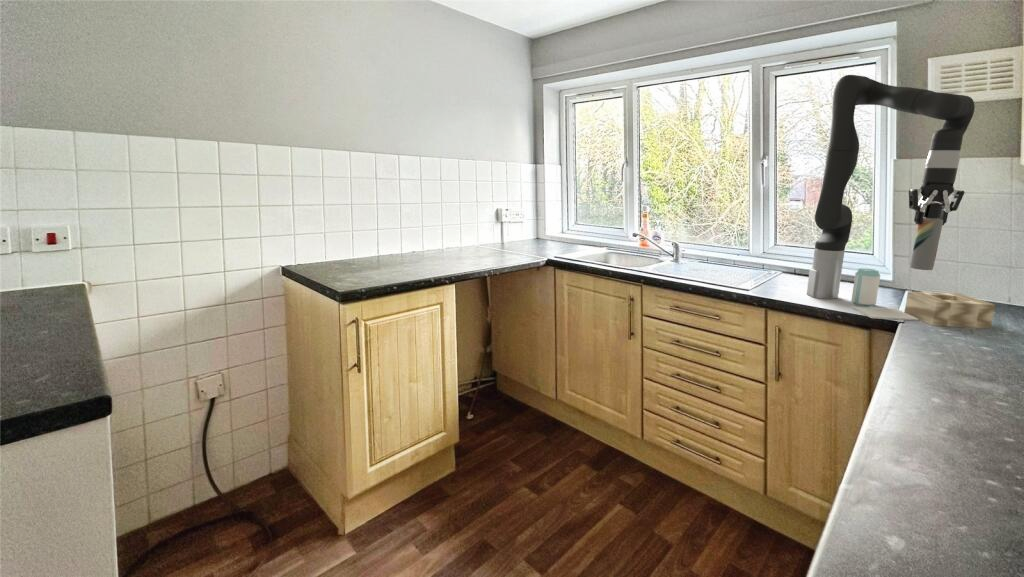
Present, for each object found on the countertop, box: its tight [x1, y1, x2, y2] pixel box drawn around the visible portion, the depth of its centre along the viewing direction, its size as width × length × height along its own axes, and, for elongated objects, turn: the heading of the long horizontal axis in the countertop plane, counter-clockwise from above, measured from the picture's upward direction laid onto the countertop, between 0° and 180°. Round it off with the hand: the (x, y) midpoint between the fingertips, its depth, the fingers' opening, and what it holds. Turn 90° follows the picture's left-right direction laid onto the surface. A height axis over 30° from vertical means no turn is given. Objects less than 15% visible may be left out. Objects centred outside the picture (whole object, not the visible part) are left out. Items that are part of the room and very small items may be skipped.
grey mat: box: [852, 306, 919, 321], centre depth 166 cm, size 13×13×1 cm
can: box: [850, 267, 881, 307], centre depth 179 cm, size 7×7×12 cm
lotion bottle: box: [909, 202, 943, 271], centre depth 158 cm, size 6×6×20 cm
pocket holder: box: [903, 291, 996, 329], centre depth 159 cm, size 15×15×7 cm
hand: (929, 224), depth 158 cm, fingers closed on lotion bottle, 5 cm apart
